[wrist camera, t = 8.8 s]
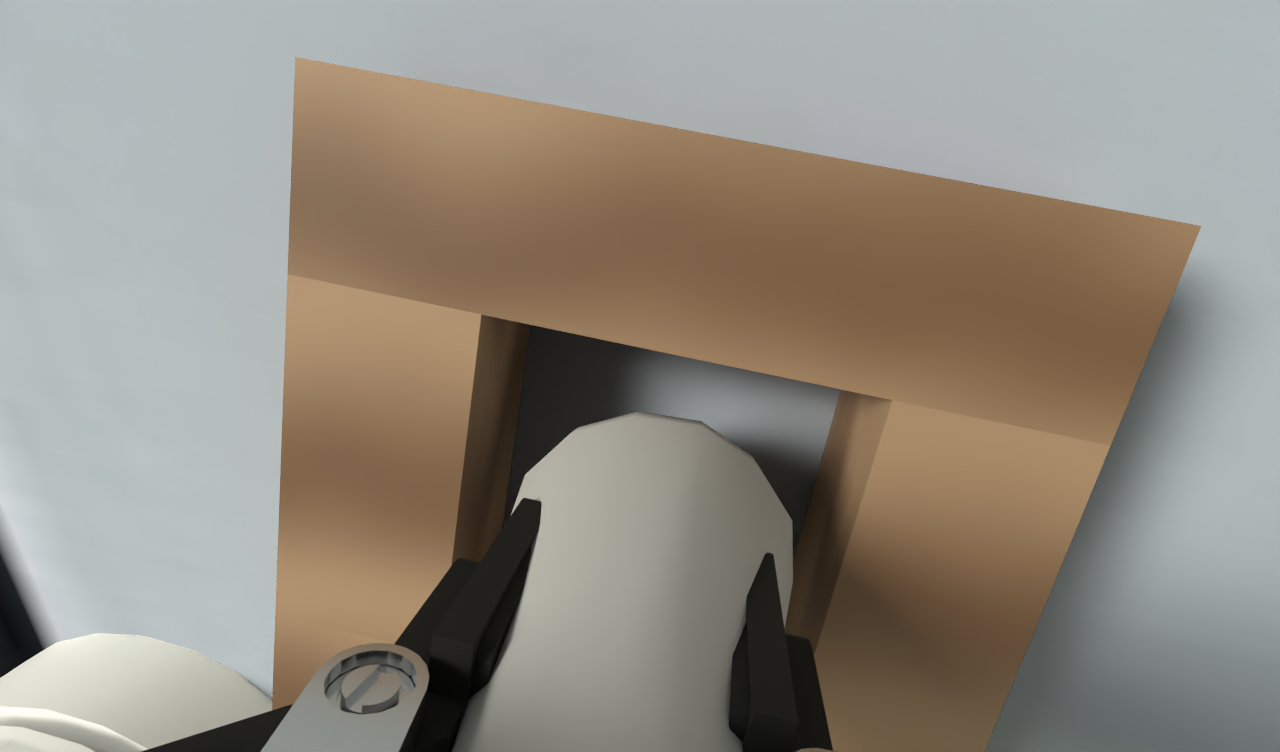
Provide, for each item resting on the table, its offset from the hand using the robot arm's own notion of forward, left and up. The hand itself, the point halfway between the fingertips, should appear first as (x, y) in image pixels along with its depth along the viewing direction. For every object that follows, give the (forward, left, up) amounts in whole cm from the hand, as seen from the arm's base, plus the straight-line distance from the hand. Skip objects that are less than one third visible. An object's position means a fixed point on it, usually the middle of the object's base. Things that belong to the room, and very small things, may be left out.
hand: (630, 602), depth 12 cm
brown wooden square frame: (0, 0, -6) cm, 6 cm away
